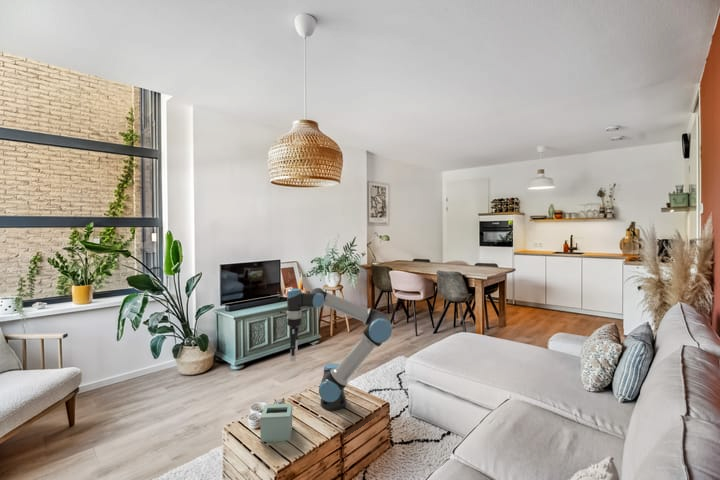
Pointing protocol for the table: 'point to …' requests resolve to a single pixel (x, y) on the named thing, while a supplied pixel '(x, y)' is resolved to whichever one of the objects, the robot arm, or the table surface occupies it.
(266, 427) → the box
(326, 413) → the table surface
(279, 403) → the game die
